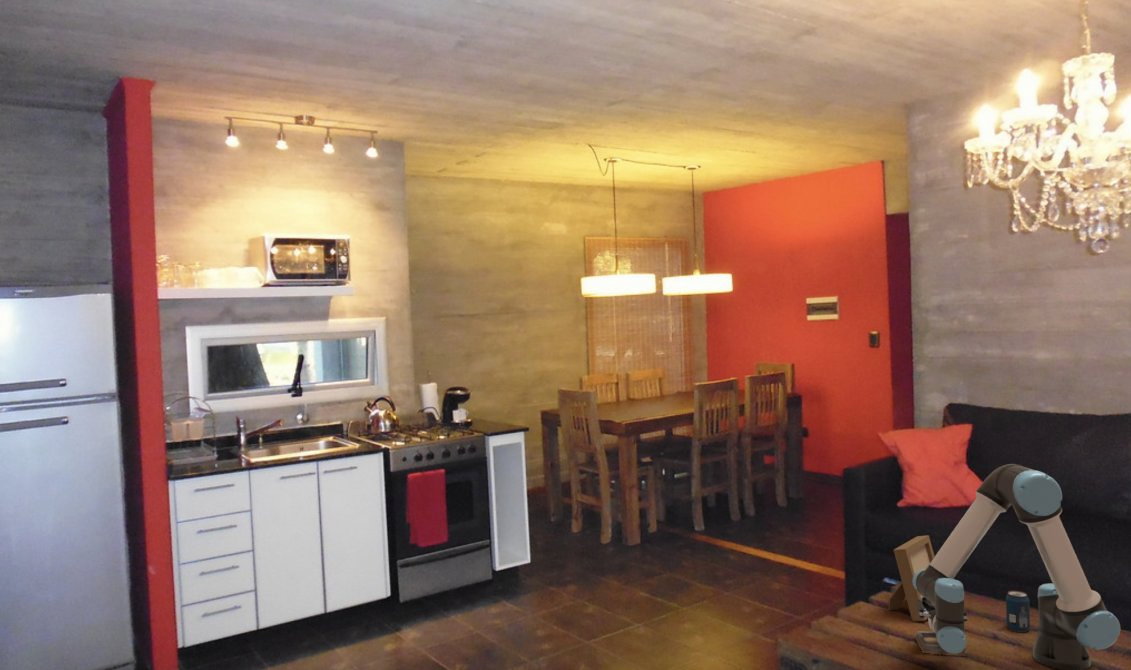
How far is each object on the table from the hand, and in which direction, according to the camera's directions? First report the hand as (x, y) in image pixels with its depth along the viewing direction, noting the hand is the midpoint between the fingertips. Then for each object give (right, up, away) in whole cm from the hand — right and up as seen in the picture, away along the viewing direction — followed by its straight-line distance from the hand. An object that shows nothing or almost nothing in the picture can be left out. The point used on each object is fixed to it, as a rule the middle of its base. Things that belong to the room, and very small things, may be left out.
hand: (936, 597), depth 272 cm
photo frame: (+5, -14, +28) cm, 32 cm away
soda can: (+31, -13, +8) cm, 34 cm away
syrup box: (-1, -9, -5) cm, 10 cm away
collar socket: (-1, -14, -5) cm, 15 cm away
